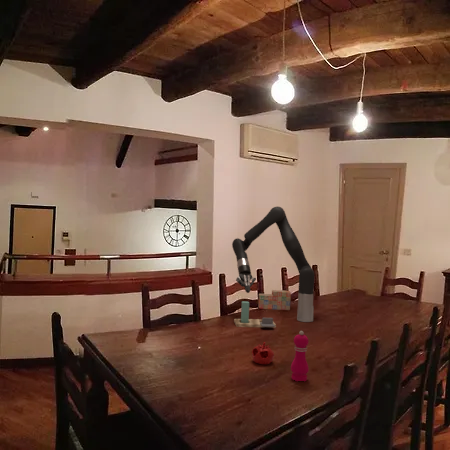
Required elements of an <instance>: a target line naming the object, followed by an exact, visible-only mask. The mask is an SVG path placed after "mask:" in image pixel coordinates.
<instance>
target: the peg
mask: <svg viewBox="0 0 450 450" xmlns="http://www.w3.org/2000/svg"><path fill="white" fill-rule="evenodd" d="M240 312H241V313H240V319H241V323H248V322H249V319H250V317H249V316H250V302H249V301H243V300H242V301H241V309H240Z"/></svg>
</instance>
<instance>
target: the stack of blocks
mask: <svg viewBox="0 0 450 450" xmlns="http://www.w3.org/2000/svg"><path fill="white" fill-rule="evenodd" d="M291 294H292V293H291V291H290V290H283V289H281V290H280V289H279V290H277V289H272V290H271V293H258V302H257V303H258V309H262V310H281V311H282V310H284V311H290V310H291V301H292V300H291V299H292V297H291V296H292V295H291Z"/></svg>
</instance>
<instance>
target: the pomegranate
mask: <svg viewBox="0 0 450 450" xmlns="http://www.w3.org/2000/svg"><path fill="white" fill-rule="evenodd" d="M269 346H272V345H271V344H268V345H266V341H263V343H262V345H261V344H260V343H259V344H257V345H256V346H255V347H253V348H252V351H251V356H252V361H253V362H254V363H256V364H259V365H270V364H271V363H272V362H273V361H274V358H275V353H274V351H273V350H272V349H271V347H269Z"/></svg>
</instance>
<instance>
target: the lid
mask: <svg viewBox="0 0 450 450" xmlns="http://www.w3.org/2000/svg"><path fill="white" fill-rule="evenodd" d="M261 319H262V322H260V324H261V326H262V327H261V328H270V327H275V325H274V324H273V321H274V318H273V317H262V318H261Z"/></svg>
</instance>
